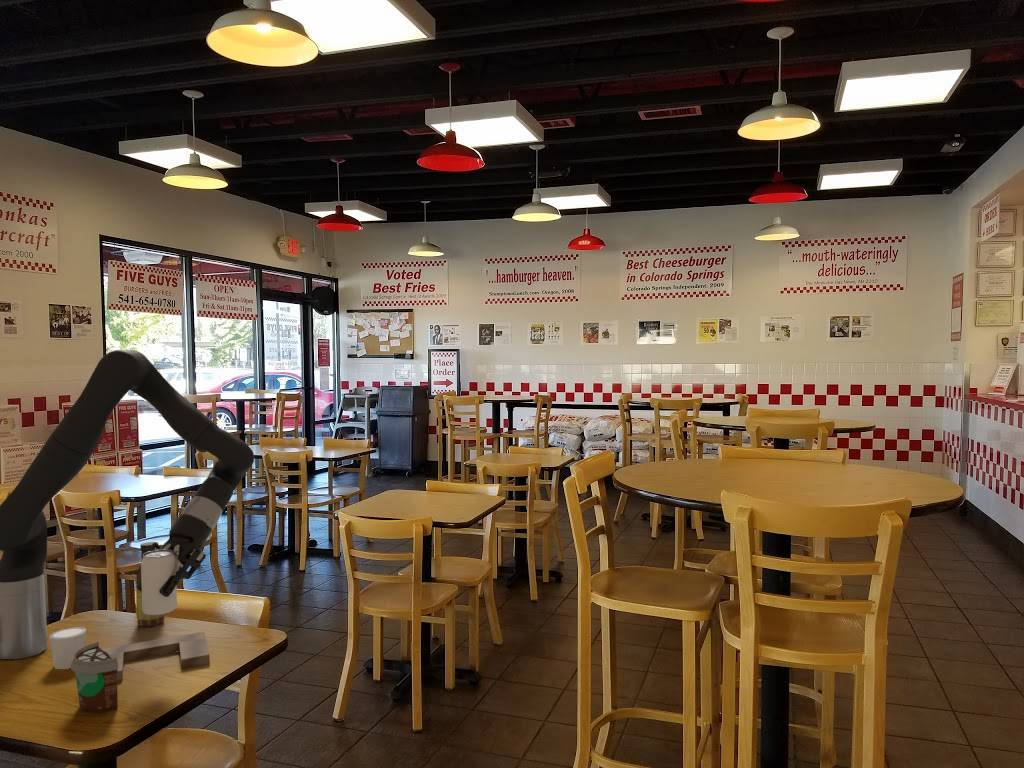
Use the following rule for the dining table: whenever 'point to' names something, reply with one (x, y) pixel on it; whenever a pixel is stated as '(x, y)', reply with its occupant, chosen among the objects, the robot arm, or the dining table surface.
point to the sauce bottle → (142, 618)
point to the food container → (95, 679)
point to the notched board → (164, 650)
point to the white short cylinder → (66, 645)
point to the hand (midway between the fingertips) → (151, 592)
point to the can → (157, 582)
